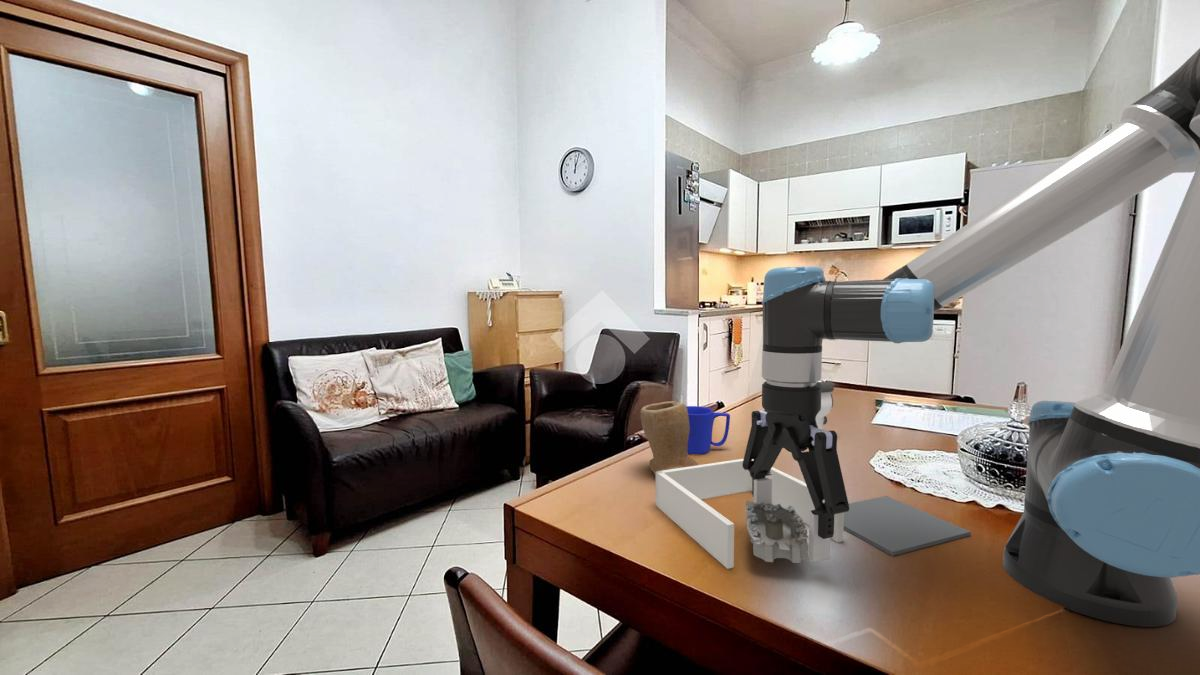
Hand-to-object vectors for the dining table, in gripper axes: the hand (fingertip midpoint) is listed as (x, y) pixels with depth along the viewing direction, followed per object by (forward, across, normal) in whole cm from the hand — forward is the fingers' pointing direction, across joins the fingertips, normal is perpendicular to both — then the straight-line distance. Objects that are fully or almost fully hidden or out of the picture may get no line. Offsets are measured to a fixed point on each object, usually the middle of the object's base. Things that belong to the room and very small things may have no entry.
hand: (788, 538), depth 67 cm
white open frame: (+2, +11, 0) cm, 11 cm away
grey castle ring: (+2, 0, 0) cm, 2 cm away
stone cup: (+2, +31, +2) cm, 31 cm away
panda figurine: (+2, +44, -44) cm, 62 cm away
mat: (+2, +2, -21) cm, 21 cm away
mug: (+2, +42, -12) cm, 44 cm away
